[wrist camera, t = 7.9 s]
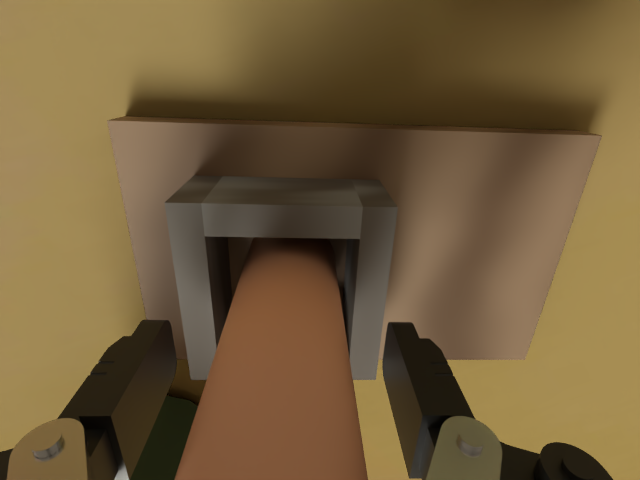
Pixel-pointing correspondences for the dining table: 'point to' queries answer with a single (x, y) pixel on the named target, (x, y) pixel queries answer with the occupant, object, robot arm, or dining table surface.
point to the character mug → (166, 441)
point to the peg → (280, 376)
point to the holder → (354, 223)
